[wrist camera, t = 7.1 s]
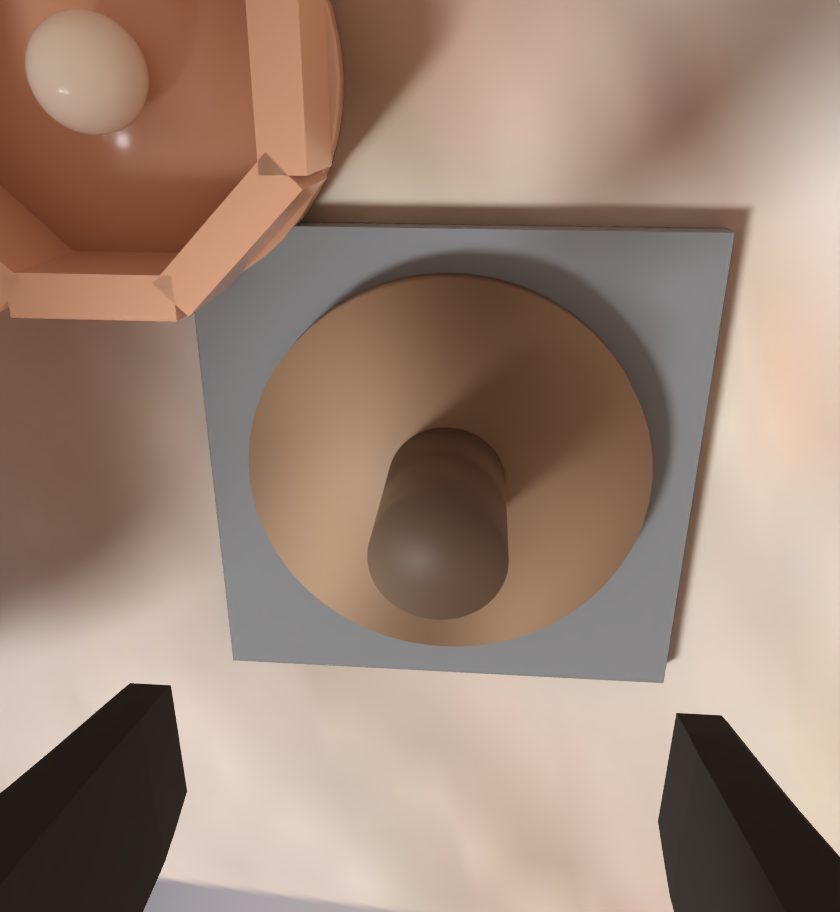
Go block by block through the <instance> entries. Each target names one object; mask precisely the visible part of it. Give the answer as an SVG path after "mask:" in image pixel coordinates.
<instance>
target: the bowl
mask: <svg viewBox="0 0 840 912" xmlns="http://www.w3.org/2000/svg"><path fill="white" fill-rule="evenodd" d="M343 91H344V73H343V62H342V51H341V43H340V38H339V33H338V29H337V24H336V19H335V14H334V11H333V8H332V5H331V2H330V0H0V312H1V311H3V310H5V309H8V308H9V310H10V315H11V318H40V319H83V320H126V321H169V322H177V321H179V320H180V319H181V318H183V317H184V316H186V315H187V316H188V317H189V316H190V315H192V314H193V313H195V312H196V311H197V310H199V309H200V308H202V307H203V306H204V305H206V304H207V303H208V302H210V301H211V300H213V299H214V298H215V297H217V296H218V295H220V294H221V293H222V292H224V291H225V290H226V289H227V288H228V287H229V286H230V285H231V284H232V283H233V282H234V281H235V280H236V278H237V277H238V276H239V275H240V274H241V273H242V272H244V271H245V270H246V269H248V268H249V267H251V266H252V265H253V264H255V263H256V262H258V261H259V260H260V259H262V258H263V257H265V256H266V255H267V254H268V253H269V252H270V251H271V250H272V249H273V248H275V247H276V246H277V245H278V244H279V243H280V242H281V241H282V240H283V239H284V238H285V237H286V236H287V234H288V233H289V232H290V230H291V229H292V228H293V227H294V226H295V225H297V224H298V223H300V221H301V220H302V219H303V218H304V216H305V215H306V214H307V212H308V211H309V209H310V207H311V205H312V204H313V202H314V200H315V199H316V197H317V195H318V194H319V192H320V190H321V188H322V185H323V183H324V181H325V180H326V179H327V177H326V176H327V173H328V171H329V169H330V166H332V160H333V156H334V153H335V149H336V145H337V142H338V138H339V132H340V125H341V118H342V112H343Z"/></svg>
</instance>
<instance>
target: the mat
mask: <svg viewBox="0 0 840 912" xmlns="http://www.w3.org/2000/svg"><path fill="white" fill-rule="evenodd" d="M734 234H735V233H734V232H732V231H730V230H729V229H711V228H642V227H573V226H504V225H435V224H365V223H298V224H297V225H295V226H294V227H293V228H292V229H291V230H290V232H289V233H288V234H287V236H286V237H285V238H284V239H283V240H282V241H281V242H280V243H279V244H278V245H277V246H276V247H275V248H273V249H272V250H271V251H270V252H269V253H268V254H267V255H266V256H265V257H263V258H262V259H260V260H259V261H258V262H256V263H255V264H253V265H252V266H251V267H249V268H248V269H246V270H245V271H244V272H242V273H241V274H240V275H239V276H238V277H237V278H236V280H235V281H234V282H233V283H232V284H231V285H230V286H229V287H228V288H227V289H226V290H225V291H224V292H222V293H221V294H220V295H218V296H217V297H215V298H214V299H213V300H211V301H210V302H208V303H207V304H206V305H204V306H203V307H202V308H200V309H199V310H197V311H196V312H195V322H196V331H197V340H198V349H199V358H200V367H201V375H202V384H203V393H204V402H205V411H206V420H207V429H208V438H209V447H210V456H211V465H212V474H213V482H214V491H215V500H216V509H217V518H218V527H219V536H220V545H221V554H222V563H223V572H224V580H225V589H226V598H227V607H228V616H229V625H230V634H231V643H232V652H233V660H239V661H258V662H277V663H295V664H314V665H333V666H352V667H371V668H390V669H409V670H427V671H446V672H465V673H484V674H503V675H522V676H541V677H559V678H578V679H597V680H616V681H635V682H654V683H663V682H664V676H665V670H666V663H667V657H668V651H669V644H670V638H671V632H672V625H673V619H674V613H675V606H676V600H677V594H678V588H679V581H680V575H681V569H682V562H683V556H684V550H685V543H686V537H687V531H688V524H689V518H690V512H691V506H692V499H693V493H694V487H695V480H696V474H697V468H698V461H699V455H700V449H701V442H702V436H703V430H704V424H705V417H706V411H707V405H708V398H709V392H710V386H711V379H712V373H713V367H714V360H715V354H716V348H717V341H718V335H719V329H720V323H721V316H722V310H723V304H724V297H725V291H726V285H727V278H728V272H729V266H730V259H731V253H732V247H733V241H734ZM433 273H467V274H474V275H480V276H486V277H493V278H497V279H501V280H504V281H507V282H511V283H514V284H517V285H521V286H523V287H526V288H528V289H530V290H532V291H535V292H537V293H539V294H541V295H544V296H546V297H548V298H549V299H551V300H553V301H554V302H556V303H557V304H559V305H561V306H562V307H564V308H566V309H567V310H569V311H570V312H572V313H573V314H574V315H575V316H576V317H578V318H579V319H580V320H581V321H582V322H584V323H585V324H586V325H587V326H588V327H590V328H591V329H592V330H593V331H594V332H595V333H596V334H597V336H598V337H599V338H600V339H601V340H602V341H603V342H604V343H605V344H606V345H607V347H608V348H609V349H610V350H611V352H612V353H613V355H614V356H615V358H616V359H617V361H618V362H619V364H620V365H621V367H622V368H623V369H624V371H625V373H626V375H627V377H628V379H629V381H630V383H631V385H632V388H633V390H634V392H635V394H636V396H637V398H638V400H639V402H640V404H641V407H642V410H643V413H644V416H645V420H646V423H647V426H648V429H649V435H650V442H651V448H652V467H653V479H652V486H651V493H650V500H649V505H648V508H647V512H646V515H645V519H644V522H643V525H642V528H641V530H640V532H639V534H638V537H637V539H636V541H635V543H634V545H633V547H632V549H631V551H630V552H629V554H628V555H627V557H626V558H625V560H624V562H623V563H622V565H621V566H620V568H619V569H618V570H617V571H616V573H615V574H614V575H613V576H612V577H611V579H610V580H609V581H608V582H607V583H606V584H605V586H604V587H602V588H601V589H600V590H599V591H598V592H597V593H596V594H595V595H594V596H593V597H592V598H590V599H589V600H588V601H587V602H586V603H584V604H583V605H582V606H580V607H579V608H577V609H576V610H575V611H573V612H572V613H570V614H569V615H567V616H566V617H564V618H562V619H560V620H558V621H556V622H555V623H553V624H551V625H549V626H547V627H545V628H542V629H540V630H537V631H535V632H532V633H530V634H527V635H525V636H521V637H518V638H514V639H510V640H507V641H503V642H498V643H492V644H485V645H479V646H461V647H449V646H432V645H425V644H419V643H413V642H407V641H403V640H400V639H396V638H392V637H389V636H385V635H382V634H380V633H377V632H375V631H372V630H370V629H367V628H365V627H362V626H360V625H358V624H357V623H355V622H353V621H351V620H349V619H347V618H345V617H343V616H342V615H340V614H338V613H337V612H336V611H334V610H333V609H331V608H330V607H328V606H327V605H325V604H324V603H322V602H321V601H320V600H319V599H318V598H316V597H315V596H314V595H313V594H312V593H311V592H310V591H308V590H307V589H306V588H305V587H304V586H303V585H302V584H301V583H300V582H299V581H298V580H297V578H296V577H295V576H294V575H293V574H292V573H291V572H290V571H289V570H288V568H287V567H286V566H285V564H284V563H283V561H282V560H281V558H280V557H279V556H278V554H277V553H276V551H275V550H274V548H273V546H272V544H271V542H270V541H269V539H268V537H267V535H266V533H265V531H264V529H263V526H262V524H261V521H260V518H259V516H258V513H257V510H256V508H255V503H254V499H253V495H252V490H251V486H250V475H249V464H248V458H249V441H250V434H251V429H252V424H253V419H254V414H255V411H256V409H257V406H258V403H259V400H260V398H261V395H262V392H263V390H264V388H265V386H266V384H267V382H268V381H269V379H270V377H271V375H272V373H273V371H274V369H275V368H276V367H277V365H278V364H279V363H280V361H281V360H282V358H283V357H284V356H285V354H286V353H287V352H288V350H289V349H290V348H291V347H292V345H293V344H294V343H295V342H296V340H297V339H298V338H299V337H300V336H301V335H302V334H303V333H304V332H305V331H306V330H307V329H308V328H309V327H310V326H311V325H312V324H313V323H314V322H315V321H316V320H317V319H319V318H320V317H321V316H323V315H324V314H325V313H327V312H328V311H329V310H331V309H332V308H333V307H335V306H336V305H338V304H339V303H341V302H343V301H345V300H347V299H348V298H350V297H352V296H354V295H355V294H357V293H359V292H361V291H364V290H367V289H369V288H372V287H374V286H377V285H379V284H382V283H384V282H388V281H392V280H396V279H400V278H405V277H409V276H414V275H424V274H433Z"/></svg>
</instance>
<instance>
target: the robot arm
mask: <svg viewBox="0 0 840 912" xmlns="http://www.w3.org/2000/svg"><path fill="white" fill-rule="evenodd" d="M186 793H187V788H186V782H185V775H184V769H183V762H182V756H181V749H180V742H179V736H178V729H177V723H176V716H175V710H174V703H173V697H172V690H171V686H170V685H152V684H134V683H130V684H129V685H128V686H126V687H125V688H124V689H123V690H121V691H120V692H119V693H118V694H117V695H116V696H114V697H113V698H112V699H111V700H110V701H109V702H107V703H106V704H105V705H104V706H103V707H102V708H100V709H99V710H98V711H97V712H96V713H95V714H93V715H92V716H91V717H90V718H89V719H88V720H87V721H85V722H84V723H83V724H82V725H81V726H80V727H78V728H77V729H76V730H75V731H74V732H73V733H71V734H70V735H69V736H68V737H67V738H66V739H65V740H63V741H62V742H61V743H60V744H59V745H58V746H56V747H55V748H54V749H53V750H52V751H51V752H49V753H48V754H47V755H46V756H45V757H43V758H42V759H41V760H40V761H39V762H37V763H36V764H35V765H34V766H33V767H31V768H30V769H29V770H28V771H27V772H25V773H24V774H23V775H22V776H21V777H19V778H18V779H17V780H16V781H15V782H14V783H12V784H11V785H10V786H9V787H8V788H6V789H5V790H4V791H2V792H1V793H0V912H143V910H144V908H145V906H146V903H147V901H148V899H149V897H150V894H151V892H152V890H153V888H154V885H155V883H156V881H157V879H158V876H159V874H160V872H161V869H162V867H163V865H164V862H165V860H166V857H167V854H168V850H169V847H170V844H171V841H172V838H173V835H174V832H175V829H176V826H177V823H178V819H179V816H180V813H181V809H182V806H183V803H184V799H185V796H186ZM658 823H659V830H660V837H661V843H662V850H663V856H664V863H665V869H666V875H667V881H668V887H669V893H670V898H671V902H672V905H673V909H674V912H840V857H839V855H838V854H837V853H836V852H835V851H834V850H833V849H832V847H831V846H830V845H829V844H828V843H827V842H826V841H825V839H824V838H823V837H822V836H821V835H820V834H819V833H818V831H817V830H816V829H815V828H814V827H813V826H812V825H811V823H810V822H809V821H808V820H807V819H806V818H805V817H804V815H803V814H802V813H801V812H800V811H799V810H798V808H797V807H796V806H795V805H794V804H793V802H792V801H791V800H790V799H789V798H788V796H787V795H786V794H785V793H784V792H783V790H782V789H781V788H780V787H779V785H778V784H777V783H776V782H775V781H774V779H773V778H772V777H771V776H770V775H769V773H768V772H767V771H766V770H765V768H764V767H763V766H762V765H761V763H760V762H759V761H758V760H757V758H756V757H755V756H754V755H753V753H752V752H751V751H750V750H749V748H748V747H747V746H746V745H745V743H744V742H743V741H742V740H741V738H740V737H739V736H738V735H737V733H736V732H735V731H734V730H733V728H732V727H731V726H730V725H729V723H728V722H727V721H726V720H725V719H724V718H723V717H722V716H720V715H702V714H683V713H676V719H675V725H674V731H673V737H672V743H671V749H670V754H669V760H668V766H667V772H666V778H665V784H664V790H663V796H662V802H661V807H660V813H659V819H658Z"/></svg>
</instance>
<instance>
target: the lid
mask: <svg viewBox="0 0 840 912" xmlns="http://www.w3.org/2000/svg"><path fill="white" fill-rule="evenodd" d="M248 464H249V475H250V486H251V490H252V495H253V499H254V503H255V508H256V510H257V513H258V516H259V518H260V521H261V524H262V526H263V529H264V531H265V533H266V535H267V537H268V539H269V541H270V542H271V544H272V546H273V548H274V550H275V551H276V553H277V554H278V556H279V557H280V558H281V560H282V561H283V563H284V564H285V566H286V567H287V568H288V570H289V571H290V572H291V573H292V574H293V575H294V576H295V577H296V578H297V580H298V581H299V582H300V583H301V584H302V585H303V586H304V587H305V588H306V589H307V590H308V591H310V592H311V593H312V594H313V595H314V596H315V597H316V598H318V599H319V600H320V601H321V602H322V603H324V604H325V605H327V606H328V607H330V608H331V609H333V610H334V611H336V612H337V613H338V614H340V615H342V616H343V617H345V618H347V619H349V620H351V621H353V622H355V623H357V624H358V625H360V626H362V627H365V628H367V629H370V630H372V631H375V632H377V633H380V634H382V635H385V636H389V637H392V638H396V639H400V640H403V641H407V642H413V643H419V644H425V645H432V646H449V647H461V646H479V645H485V644H492V643H498V642H503V641H507V640H510V639H514V638H518V637H521V636H525V635H527V634H530V633H532V632H535V631H537V630H540V629H542V628H545V627H547V626H549V625H551V624H553V623H555V622H556V621H558V620H560V619H562V618H564V617H566V616H567V615H569V614H570V613H572V612H573V611H575V610H576V609H577V608H579V607H580V606H582V605H583V604H584V603H586V602H587V601H588V600H589V599H590V598H592V597H593V596H594V595H595V594H596V593H597V592H598V591H599V590H600V589H601V588H602V587H604V586H605V584H606V583H607V582H608V581H609V580H610V579H611V577H612V576H613V575H614V574H615V573H616V571H617V570H618V569H619V568H620V566H621V565H622V563H623V562H624V560H625V558H626V557H627V555H628V554H629V552H630V551H631V549H632V547H633V545H634V543H635V541H636V539H637V537H638V534H639V532H640V530H641V528H642V525H643V522H644V519H645V515H646V512H647V508H648V505H649V500H650V493H651V486H652V479H653V467H652V448H651V442H650V435H649V429H648V426H647V423H646V420H645V416H644V413H643V410H642V407H641V404H640V402H639V400H638V398H637V396H636V394H635V392H634V390H633V388H632V385H631V383H630V381H629V379H628V377H627V375H626V373H625V371H624V369H623V368H622V367H621V365H620V364H619V362H618V361H617V359H616V358H615V356H614V355H613V353H612V352H611V350H610V349H609V348H608V347H607V345H606V344H605V343H604V342H603V341H602V340H601V339H600V338H599V337H598V336H597V334H596V333H595V332H594V331H593V330H592V329H591V328H590V327H588V326H587V325H586V324H585V323H584V322H582V321H581V320H580V319H579V318H578V317H576V316H575V315H574V314H573V313H572V312H570V311H569V310H567V309H566V308H564V307H562V306H561V305H559V304H557V303H556V302H554V301H553V300H551V299H549V298H548V297H546V296H544V295H541V294H539V293H537V292H535V291H532V290H530V289H528V288H526V287H523V286H521V285H517V284H514V283H511V282H507V281H504V280H501V279H497V278H493V277H486V276H480V275H474V274H467V273H433V274H424V275H414V276H409V277H405V278H400V279H396V280H392V281H388V282H384V283H382V284H379V285H377V286H374V287H372V288H369V289H367V290H364V291H361V292H359V293H357V294H355V295H354V296H352V297H350V298H348V299H347V300H345V301H343V302H341V303H339V304H338V305H336V306H335V307H333V308H332V309H331V310H329V311H328V312H327V313H325V314H324V315H323V316H321V317H320V318H319V319H317V320H316V321H315V322H314V323H313V324H312V325H311V326H310V327H309V328H308V329H307V330H306V331H305V332H304V333H303V334H302V335H301V336H300V337H299V338H298V339H297V340H296V342H295V343H294V344H293V345H292V347H291V348H290V349H289V350H288V352H287V353H286V354H285V356H284V357H283V358H282V360H281V361H280V363H279V364H278V365H277V367H276V368H275V369H274V371H273V373H272V375H271V377H270V379H269V381H268V382H267V384H266V386H265V388H264V390H263V392H262V395H261V398H260V400H259V403H258V406H257V409H256V411H255V414H254V419H253V424H252V429H251V434H250V441H249V458H248Z"/></svg>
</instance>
